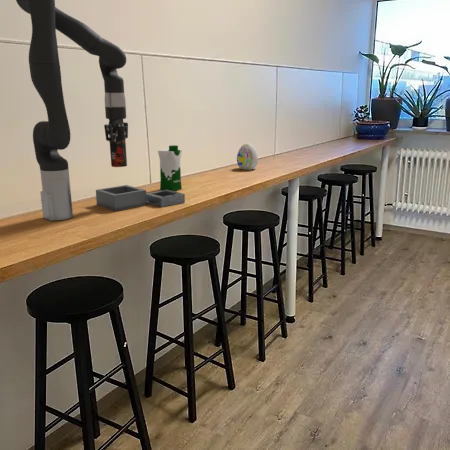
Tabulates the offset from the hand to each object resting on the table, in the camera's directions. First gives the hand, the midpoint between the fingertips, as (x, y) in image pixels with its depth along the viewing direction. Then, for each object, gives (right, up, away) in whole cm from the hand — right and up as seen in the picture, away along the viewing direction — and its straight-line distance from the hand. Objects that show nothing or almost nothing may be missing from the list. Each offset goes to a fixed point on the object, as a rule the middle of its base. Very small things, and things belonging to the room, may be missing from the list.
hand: (118, 151), depth 172 cm
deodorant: (0, -6, +2) cm, 6 cm away
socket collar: (+16, -19, +11) cm, 27 cm away
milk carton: (+16, -12, +34) cm, 40 cm away
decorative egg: (+54, +4, +91) cm, 106 cm away
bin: (0, -20, +6) cm, 21 cm away
